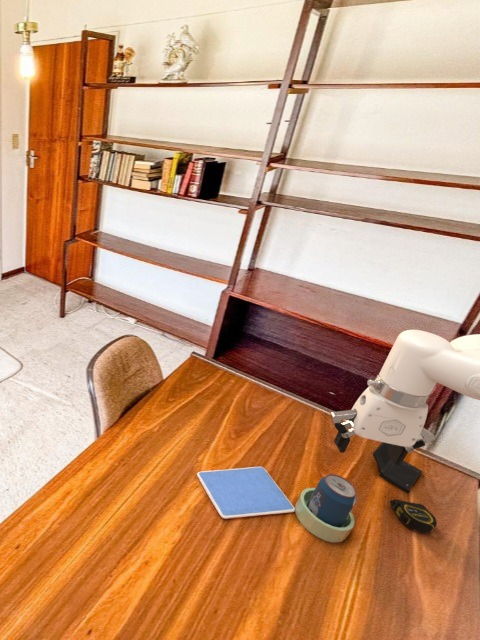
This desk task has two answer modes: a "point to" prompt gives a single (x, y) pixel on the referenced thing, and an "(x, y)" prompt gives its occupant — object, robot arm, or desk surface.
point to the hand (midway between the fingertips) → (365, 453)
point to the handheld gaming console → (395, 468)
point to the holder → (319, 526)
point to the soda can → (332, 500)
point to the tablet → (244, 492)
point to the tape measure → (414, 515)
